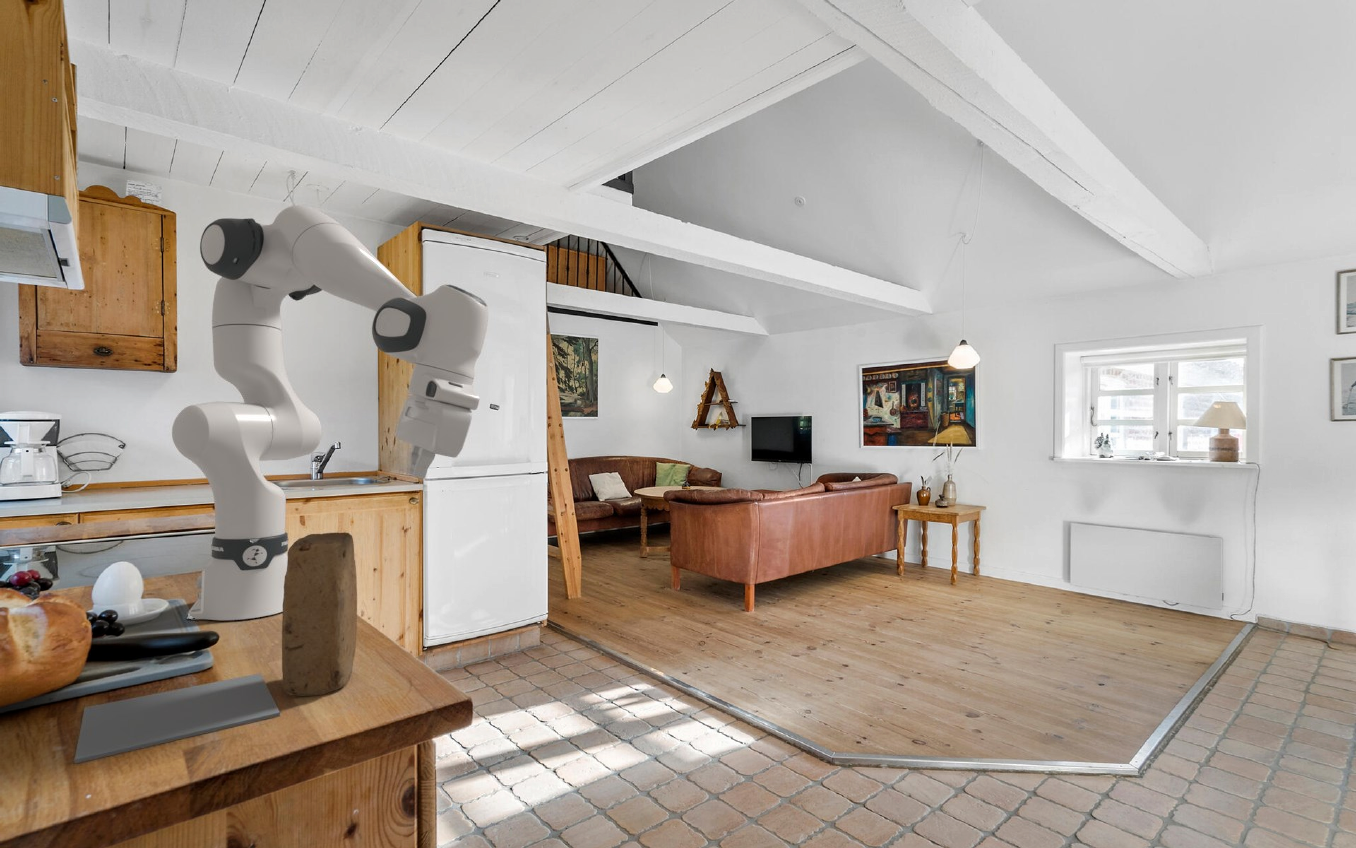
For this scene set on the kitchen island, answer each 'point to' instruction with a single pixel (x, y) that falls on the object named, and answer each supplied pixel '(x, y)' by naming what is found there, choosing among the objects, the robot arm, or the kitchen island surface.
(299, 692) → the block
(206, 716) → the mat
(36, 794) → the kitchen island surface
